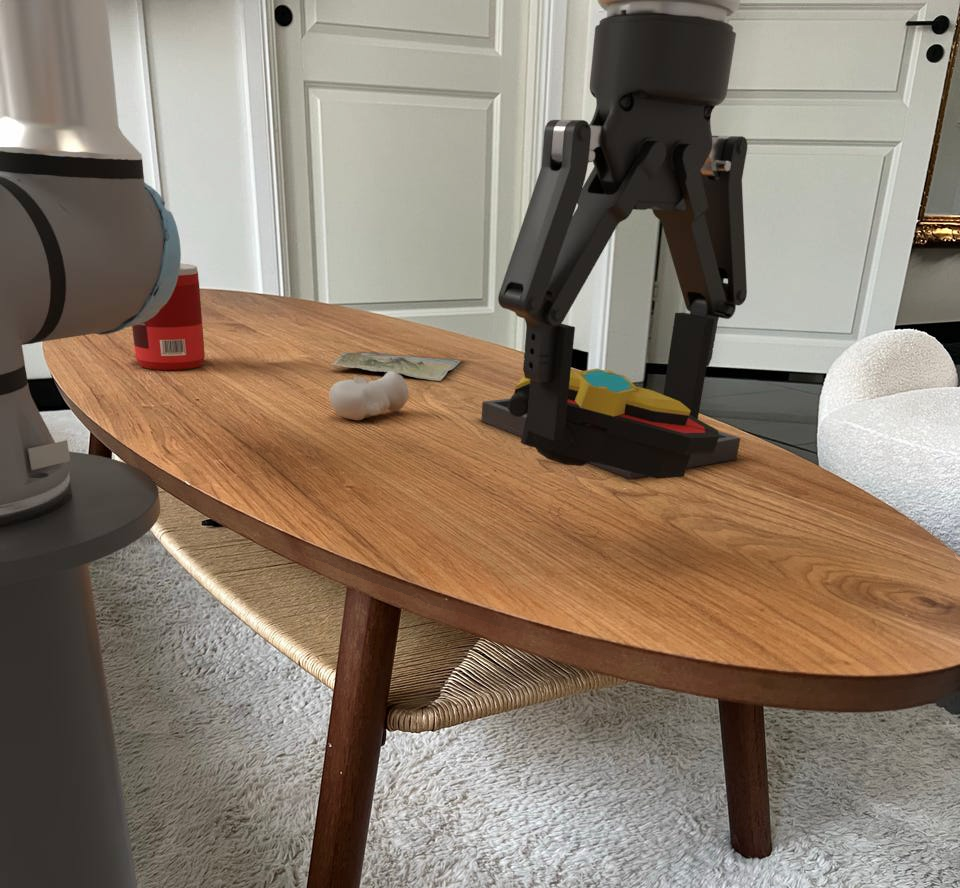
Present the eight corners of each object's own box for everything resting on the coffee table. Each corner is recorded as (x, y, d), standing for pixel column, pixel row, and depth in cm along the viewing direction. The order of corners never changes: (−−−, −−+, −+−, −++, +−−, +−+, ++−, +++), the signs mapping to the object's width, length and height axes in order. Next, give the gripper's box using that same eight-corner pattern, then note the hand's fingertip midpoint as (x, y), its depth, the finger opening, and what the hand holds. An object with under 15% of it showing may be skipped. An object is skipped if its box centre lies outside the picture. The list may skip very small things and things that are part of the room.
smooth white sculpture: (341, 435, 91) (321, 408, 94) (414, 427, 95) (393, 401, 98) (344, 396, 88) (324, 369, 91) (420, 389, 92) (399, 363, 95)
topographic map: (440, 381, 110) (441, 367, 110) (329, 368, 112) (330, 354, 111) (461, 365, 122) (462, 352, 122) (362, 353, 124) (362, 340, 123)
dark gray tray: (481, 421, 94) (481, 401, 93) (582, 408, 101) (584, 389, 101) (630, 479, 79) (633, 456, 78) (736, 459, 86) (740, 437, 85)
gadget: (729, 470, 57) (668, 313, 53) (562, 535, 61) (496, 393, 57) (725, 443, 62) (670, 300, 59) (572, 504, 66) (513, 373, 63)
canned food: (218, 363, 113) (211, 266, 108) (174, 373, 107) (164, 271, 102) (168, 355, 116) (159, 260, 111) (122, 365, 110) (110, 264, 105)
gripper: (540, -24, 41) (504, 463, 51) (857, 41, 54) (778, 421, 64) (445, -9, 46) (430, 429, 56) (754, 47, 59) (696, 397, 69)
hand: (615, 425), depth 60 cm, fingers closed on gadget, 11 cm apart
